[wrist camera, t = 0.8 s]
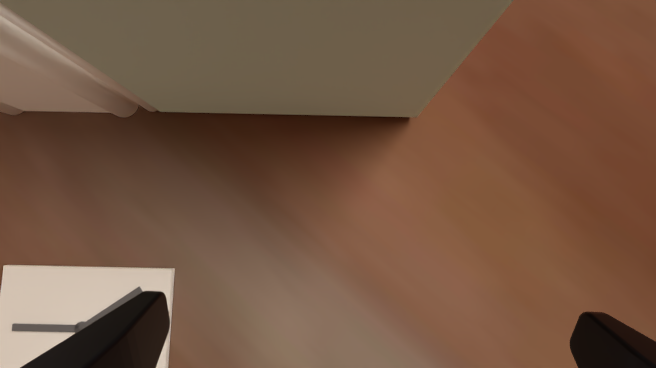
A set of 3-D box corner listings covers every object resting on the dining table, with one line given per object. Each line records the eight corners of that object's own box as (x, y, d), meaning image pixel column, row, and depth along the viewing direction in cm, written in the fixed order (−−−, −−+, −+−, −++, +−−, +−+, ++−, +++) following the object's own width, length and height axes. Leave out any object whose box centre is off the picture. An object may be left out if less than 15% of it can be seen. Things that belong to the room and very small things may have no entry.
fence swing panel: (142, 111, 23) (-60, -14, 11) (144, 92, 23) (-54, -51, 11) (416, 117, 23) (515, -2, 11) (416, 98, 23) (513, -39, 11)
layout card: (-6, 387, 21) (-14, 391, 21) (9, 264, 22) (2, 265, 22) (166, 390, 21) (162, 394, 21) (174, 268, 22) (171, 269, 22)
